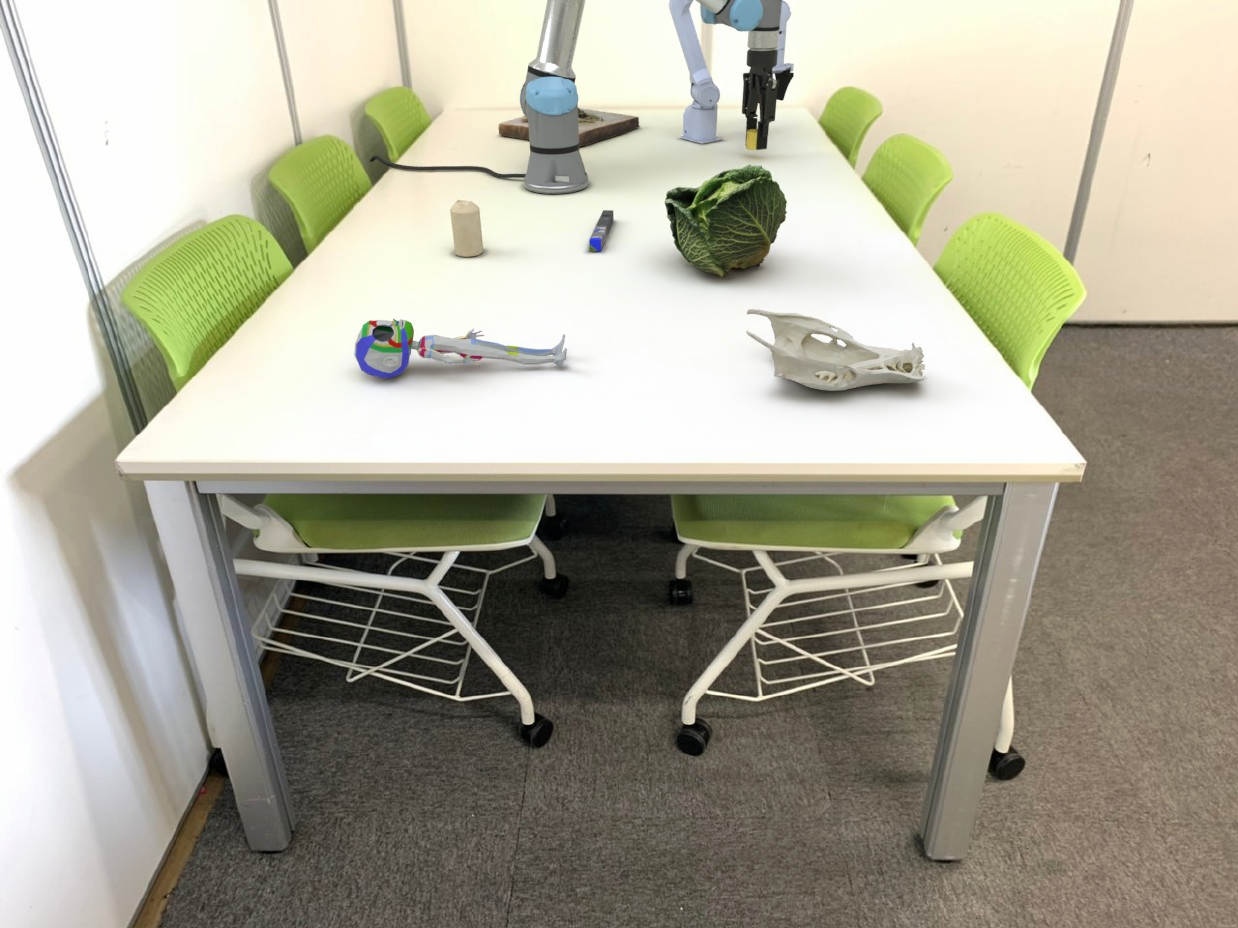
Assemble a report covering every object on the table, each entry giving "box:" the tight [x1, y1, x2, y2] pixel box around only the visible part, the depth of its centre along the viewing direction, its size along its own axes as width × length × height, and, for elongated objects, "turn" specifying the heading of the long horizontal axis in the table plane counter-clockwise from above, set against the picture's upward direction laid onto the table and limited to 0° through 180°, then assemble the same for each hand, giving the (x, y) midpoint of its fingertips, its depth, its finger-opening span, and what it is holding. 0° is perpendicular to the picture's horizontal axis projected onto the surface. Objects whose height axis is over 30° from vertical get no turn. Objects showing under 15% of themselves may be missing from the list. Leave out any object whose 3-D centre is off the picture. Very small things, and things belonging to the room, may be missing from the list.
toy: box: [353, 318, 568, 379], centre depth 130 cm, size 10×8×30 cm
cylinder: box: [745, 128, 763, 151], centre depth 232 cm, size 5×5×4 cm
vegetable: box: [664, 164, 788, 278], centre depth 161 cm, size 20×19×20 cm
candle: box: [449, 199, 484, 258], centre depth 172 cm, size 6×6×10 cm
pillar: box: [588, 209, 615, 252], centre depth 182 cm, size 2×2×20 cm
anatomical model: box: [745, 308, 927, 392], centre depth 125 cm, size 15×9×25 cm
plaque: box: [498, 107, 641, 148], centre depth 262 cm, size 30×7×30 cm
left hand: (755, 146), depth 233 cm, fingers closed on cylinder, 5 cm apart
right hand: (770, 101), depth 251 cm, fingers open, 7 cm apart
